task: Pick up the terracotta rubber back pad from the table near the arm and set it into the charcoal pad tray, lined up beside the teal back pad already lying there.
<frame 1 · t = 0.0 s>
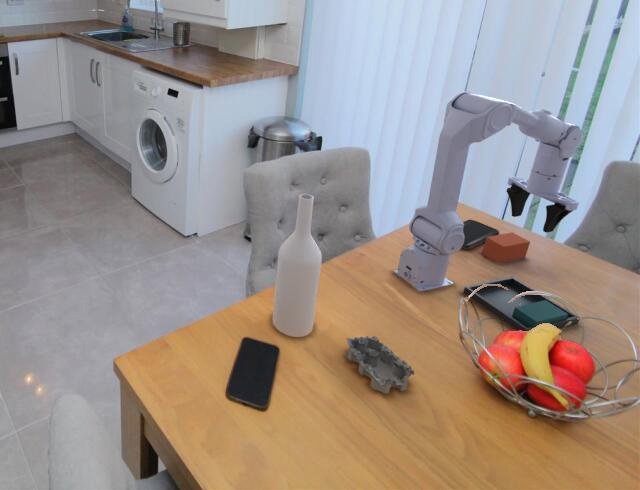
hand: (531, 223, 115), 10 cm above the table, tool pointing down, fingers open, 7 cm apart
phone: (467, 236, 129), on the table
bottle: (292, 324, 101), on the table
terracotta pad: (503, 256, 120), on the table
egg carton: (375, 371, 89), on the table
pad tray: (517, 308, 102), on the table
teal pad: (537, 320, 98), resting on pad tray
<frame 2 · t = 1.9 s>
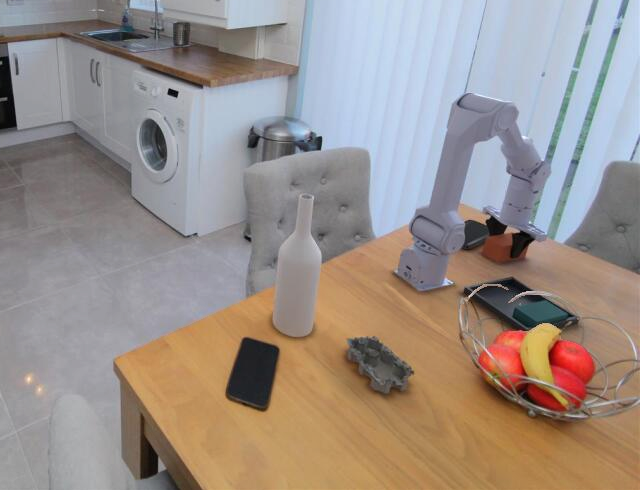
hand: (504, 251, 120), 1 cm above the table, tool pointing down, fingers closed on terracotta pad, 4 cm apart
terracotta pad: (502, 256, 120), on the table, touching gripper
everything else where it was.
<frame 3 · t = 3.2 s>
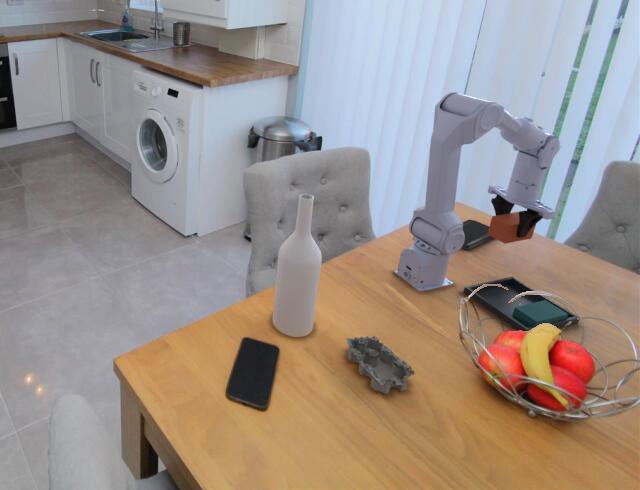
hand: (510, 231, 116), 8 cm above the table, tool pointing down, fingers closed on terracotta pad, 4 cm apart
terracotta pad: (509, 236, 117), point 6 cm above the table, touching gripper
everything else where it was.
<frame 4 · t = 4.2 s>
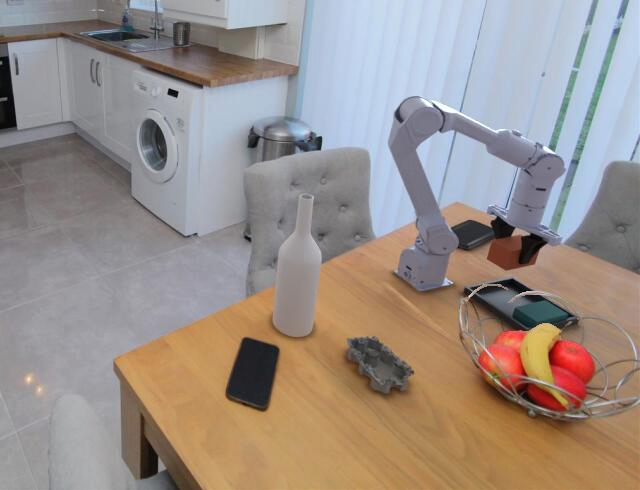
hand: (512, 256, 106), 8 cm above the table, tool pointing down, fingers closed on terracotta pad, 4 cm apart
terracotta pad: (510, 261, 106), point 7 cm above the table, touching gripper
everything else where it was.
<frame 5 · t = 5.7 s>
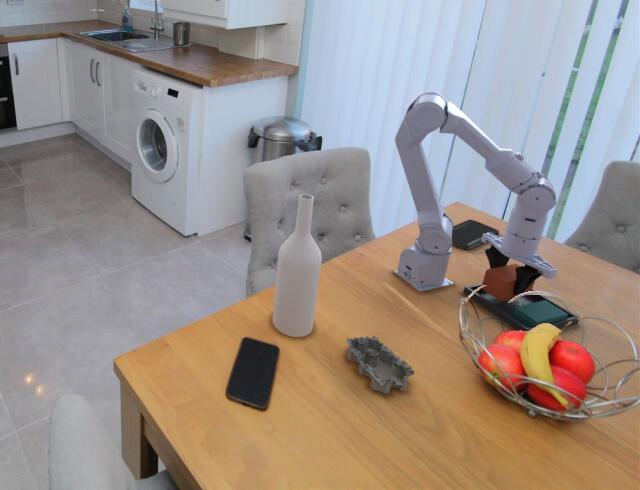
hand: (507, 286, 104), 3 cm above the table, tool pointing down, fingers closed on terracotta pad, 4 cm apart
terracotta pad: (505, 291, 105), point 2 cm above the table, touching gripper
everything else where it was.
when the fingers open (2 cm above the table, at t = 6.7 s): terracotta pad stays where it is, resting on pad tray.
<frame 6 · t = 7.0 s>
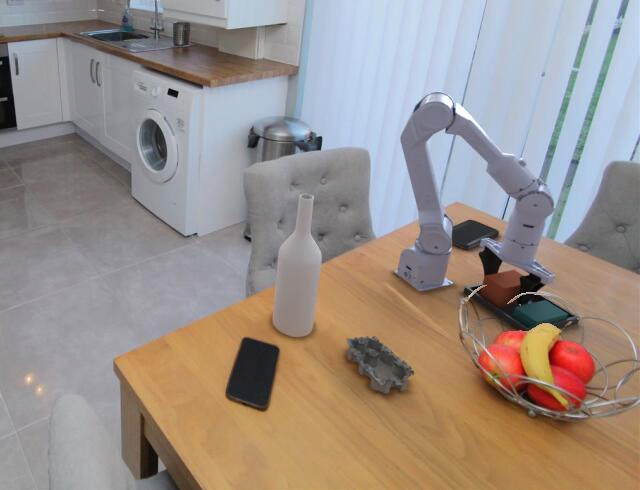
hand: (505, 291, 105), 2 cm above the table, tool pointing down, fingers open, 7 cm apart
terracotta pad: (503, 297, 105), resting on pad tray
everything else where it was.
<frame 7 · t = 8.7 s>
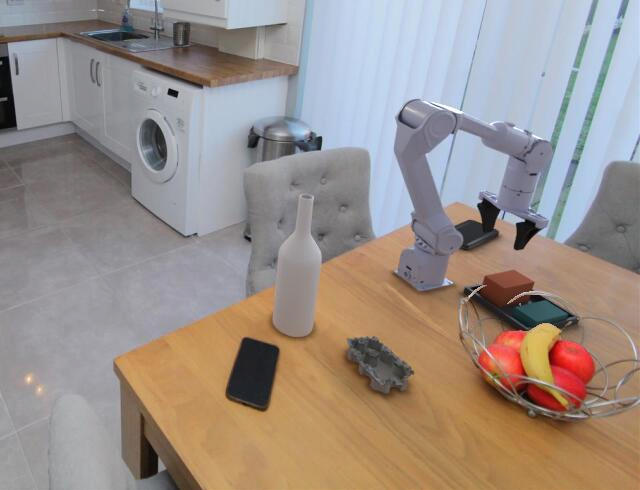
hand: (502, 240, 110), 9 cm above the table, tool pointing down, fingers open, 7 cm apart
nothing on the table moved.
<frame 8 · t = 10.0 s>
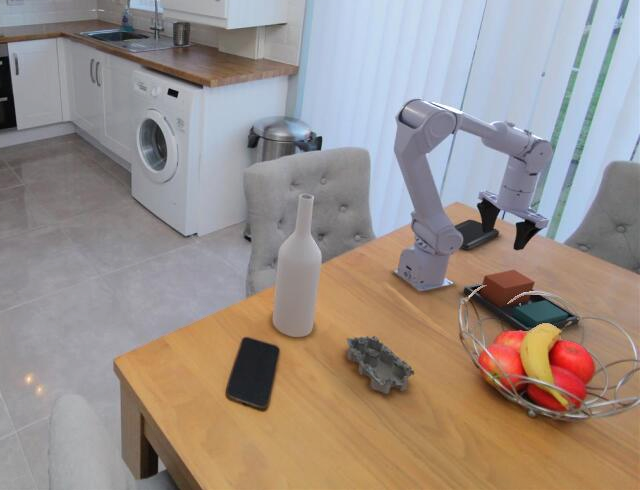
hand: (502, 240, 110), 9 cm above the table, tool pointing down, fingers open, 7 cm apart
nothing on the table moved.
at the end: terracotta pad 0.3 cm from the target spot in the pad tray, point 0.5 cm above the pad tray's base; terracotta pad tilted 0°; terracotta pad 7.5 cm from the teal pad (horizontally) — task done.
